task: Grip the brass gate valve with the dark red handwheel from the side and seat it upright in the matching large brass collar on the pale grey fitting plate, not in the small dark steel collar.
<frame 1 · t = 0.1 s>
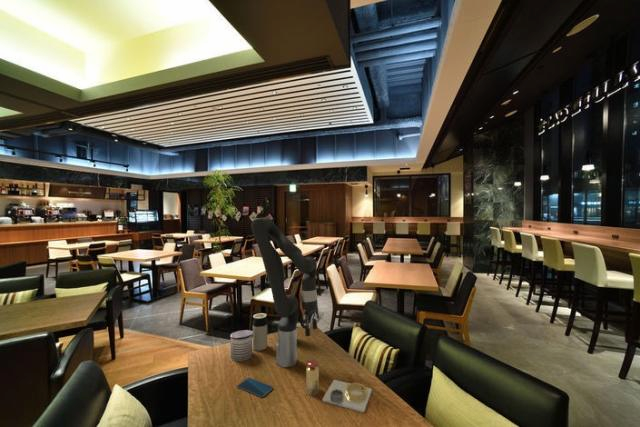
hand: (311, 332, 133), 17 cm above the table, tool pointing down, fingers open, 8 cm apart
smartphone: (255, 389, 118), on the table
travel mug: (260, 347, 154), on the table
fitting plate: (347, 395, 113), on the table
wine bottle: (287, 340, 163), on the table
brass valve: (312, 391, 115), on the table
can: (241, 355, 145), on the table
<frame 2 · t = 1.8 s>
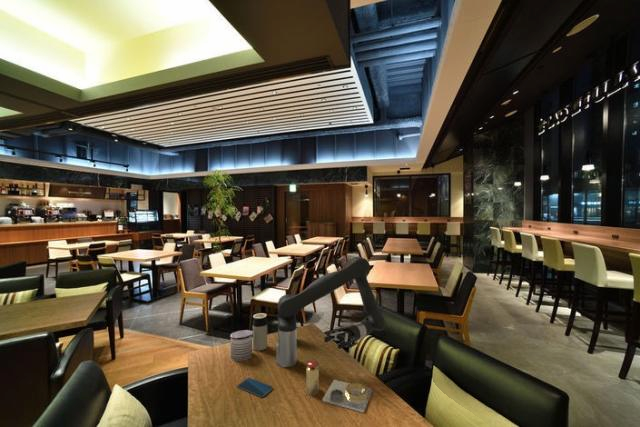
hand: (331, 343, 123), 17 cm above the table, tool horizontal, fingers open, 8 cm apart
nothing on the table moved.
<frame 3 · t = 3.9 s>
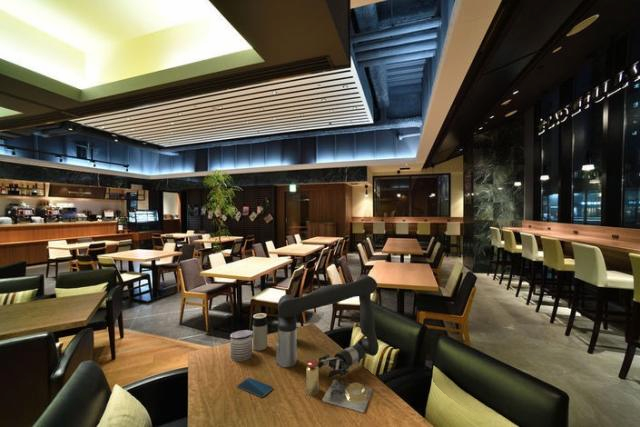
hand: (321, 371, 119), 7 cm above the table, tool horizontal, fingers open, 8 cm apart
nothing on the table moved.
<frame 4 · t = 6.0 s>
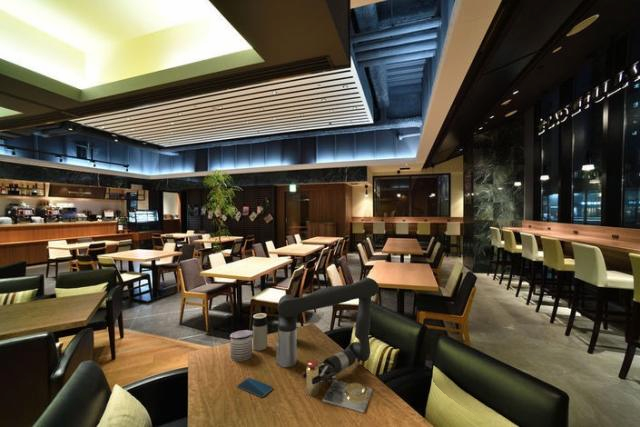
hand: (307, 378, 114), 7 cm above the table, tool horizontal, fingers closed on brass valve, 5 cm apart
brass valve: (312, 391, 115), on the table, touching gripper
everything else where it was.
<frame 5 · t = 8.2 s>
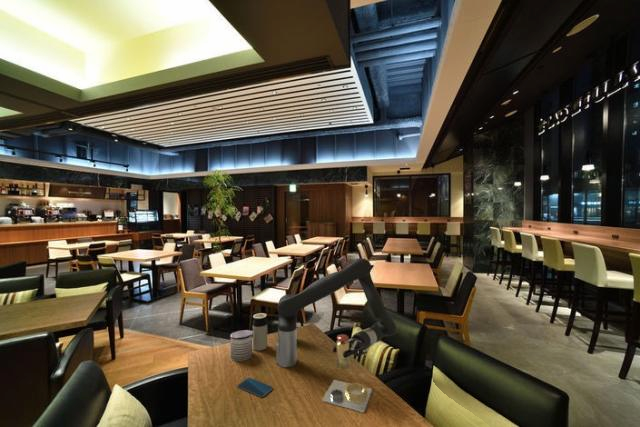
hand: (338, 352, 112), 18 cm above the table, tool horizontal, fingers closed on brass valve, 5 cm apart
brass valve: (343, 366, 114), point 11 cm above the table, touching gripper
everything else where it was.
when the fingers open (8 cm above the table, at t = 10.4 s): brass valve stays where it is, resting on fitting plate.
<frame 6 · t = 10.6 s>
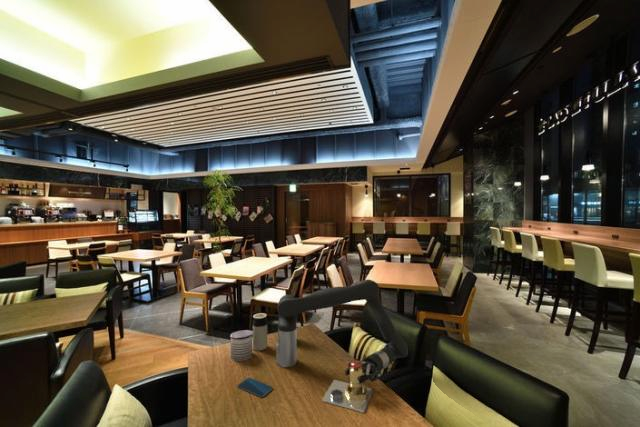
hand: (352, 376, 112), 8 cm above the table, tool horizontal, fingers open, 6 cm apart
brass valve: (356, 392, 114), point 1 cm above the table, touching fitting plate
everything else where it was.
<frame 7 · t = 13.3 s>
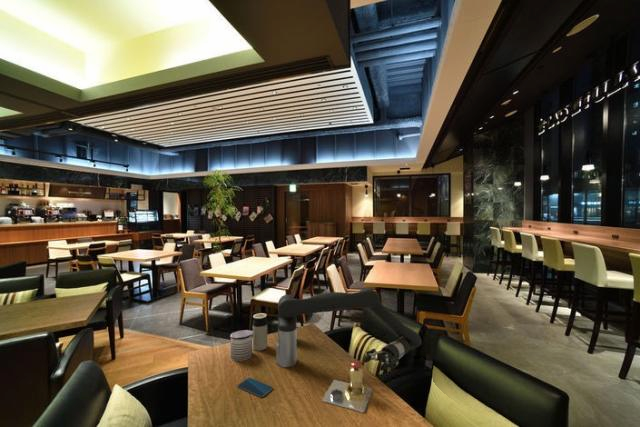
hand: (372, 364, 121), 8 cm above the table, tool horizontal, fingers open, 8 cm apart
nothing on the table moved.
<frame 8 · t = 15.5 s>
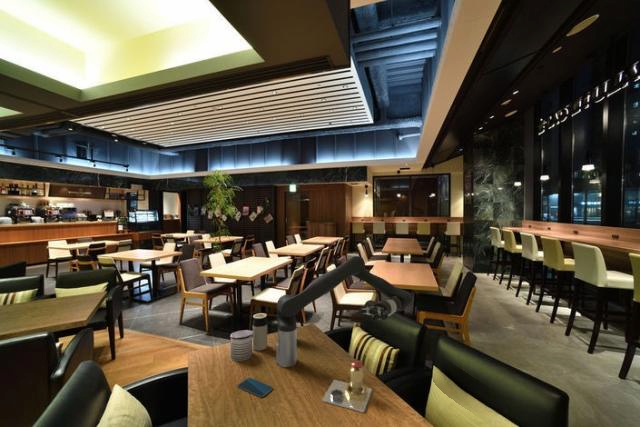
hand: (365, 316, 126), 28 cm above the table, tool horizontal, fingers open, 8 cm apart
nothing on the table moved.
at the end: brass valve 0.1 cm from the target spot, point 0.8 cm above the table; brass valve tilted 1°; the gripper is holding nothing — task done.
